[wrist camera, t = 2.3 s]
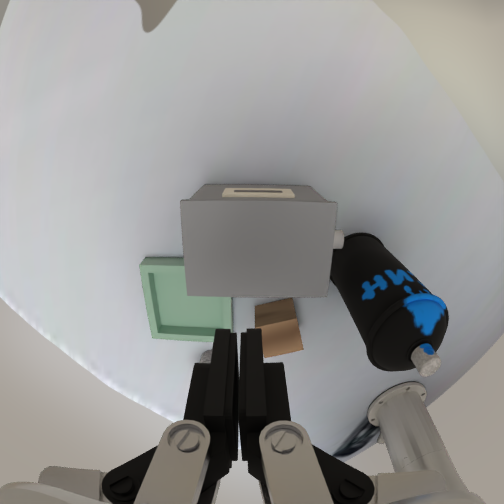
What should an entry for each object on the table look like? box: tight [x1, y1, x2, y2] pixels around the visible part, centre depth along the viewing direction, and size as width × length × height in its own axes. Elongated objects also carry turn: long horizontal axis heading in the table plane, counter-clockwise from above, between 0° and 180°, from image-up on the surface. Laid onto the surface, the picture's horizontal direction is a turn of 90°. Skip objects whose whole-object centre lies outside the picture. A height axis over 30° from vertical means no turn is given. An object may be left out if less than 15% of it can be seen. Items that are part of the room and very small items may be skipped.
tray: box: [139, 257, 233, 342], centre depth 37 cm, size 11×11×2 cm
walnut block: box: [255, 298, 304, 358], centre depth 38 cm, size 5×5×5 cm
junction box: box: [180, 184, 344, 298], centre depth 30 cm, size 9×14×11 cm, turn 89°
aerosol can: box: [330, 233, 449, 377], centre depth 28 cm, size 8×8×20 cm
